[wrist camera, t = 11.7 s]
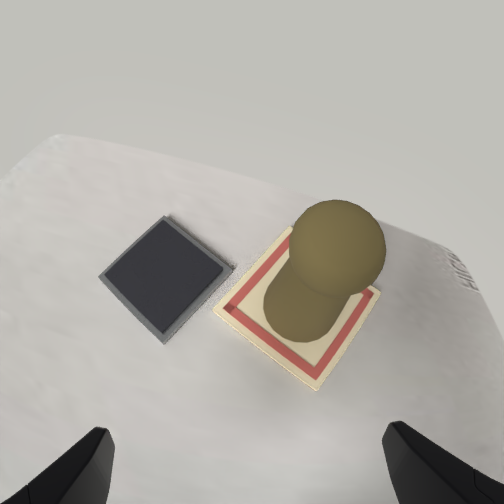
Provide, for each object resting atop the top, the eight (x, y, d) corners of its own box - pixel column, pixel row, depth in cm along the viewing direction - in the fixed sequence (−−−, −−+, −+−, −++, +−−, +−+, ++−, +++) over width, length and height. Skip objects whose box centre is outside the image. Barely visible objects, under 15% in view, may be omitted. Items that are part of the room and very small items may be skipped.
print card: (378, 294, 26) (381, 292, 25) (315, 391, 22) (317, 390, 21) (288, 228, 28) (289, 225, 28) (212, 311, 24) (212, 308, 24)
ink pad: (232, 272, 26) (232, 267, 25) (164, 344, 22) (161, 341, 22) (165, 219, 28) (163, 212, 27) (100, 279, 24) (96, 274, 24)
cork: (352, 307, 24) (421, 238, 15) (300, 359, 22) (356, 316, 13) (300, 256, 26) (339, 165, 17) (246, 301, 24) (259, 221, 14)
